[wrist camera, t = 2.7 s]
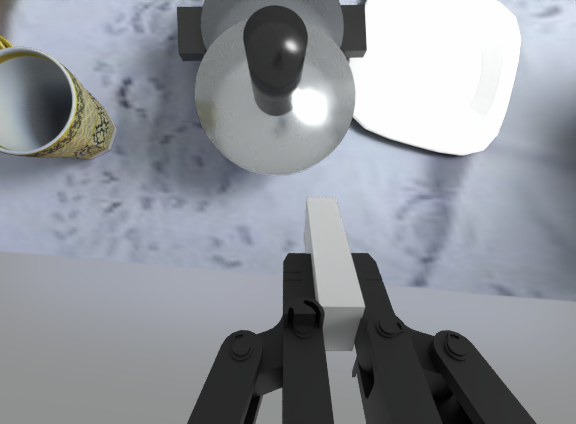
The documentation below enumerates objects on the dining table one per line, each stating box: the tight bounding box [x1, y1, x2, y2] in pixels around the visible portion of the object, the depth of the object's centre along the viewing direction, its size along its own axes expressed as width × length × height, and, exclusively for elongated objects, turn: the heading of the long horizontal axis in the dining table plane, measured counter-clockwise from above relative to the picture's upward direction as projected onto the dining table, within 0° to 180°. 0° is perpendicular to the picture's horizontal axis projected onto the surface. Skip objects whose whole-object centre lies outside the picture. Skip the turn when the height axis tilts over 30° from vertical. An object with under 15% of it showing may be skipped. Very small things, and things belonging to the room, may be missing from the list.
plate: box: [348, 0, 521, 156], centre depth 37 cm, size 22×22×2 cm
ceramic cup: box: [0, 36, 117, 159], centre depth 31 cm, size 13×10×10 cm
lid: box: [195, 5, 356, 176], centre depth 24 cm, size 16×16×10 cm
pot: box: [177, 0, 367, 61], centre depth 33 cm, size 20×15×7 cm
